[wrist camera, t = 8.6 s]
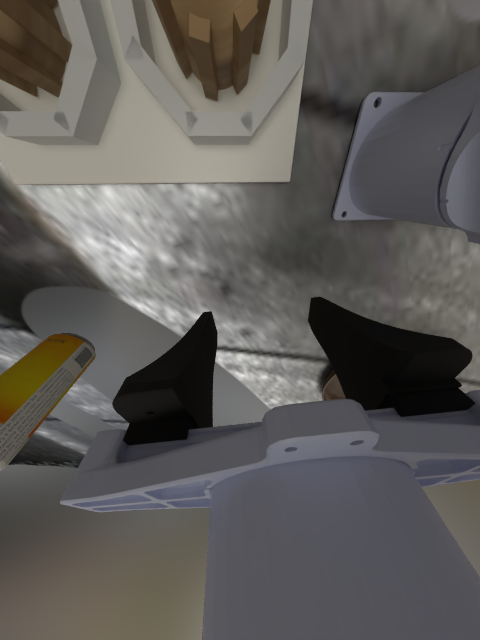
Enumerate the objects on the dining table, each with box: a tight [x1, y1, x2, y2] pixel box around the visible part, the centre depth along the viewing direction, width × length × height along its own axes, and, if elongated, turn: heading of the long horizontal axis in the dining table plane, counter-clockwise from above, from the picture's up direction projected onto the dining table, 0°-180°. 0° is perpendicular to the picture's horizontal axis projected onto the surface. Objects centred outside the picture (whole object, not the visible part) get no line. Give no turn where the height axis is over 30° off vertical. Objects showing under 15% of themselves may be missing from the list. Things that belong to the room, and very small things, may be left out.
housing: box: [0, 0, 313, 185], centre depth 9 cm, size 22×14×4 cm, turn 90°
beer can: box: [0, 333, 95, 471], centre depth 20 cm, size 6×6×15 cm
